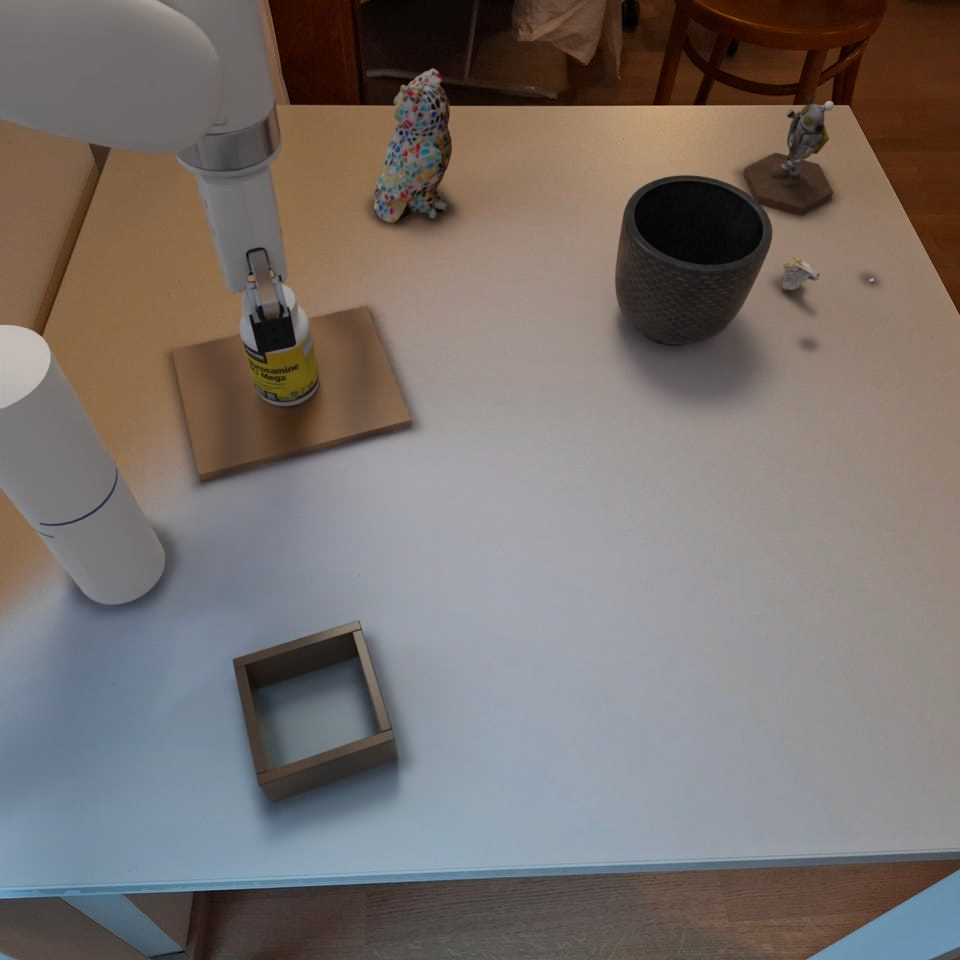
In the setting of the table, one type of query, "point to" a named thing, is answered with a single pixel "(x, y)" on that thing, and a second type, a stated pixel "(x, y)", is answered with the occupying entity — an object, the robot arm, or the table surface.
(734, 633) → the table surface
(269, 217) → the robot arm
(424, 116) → the figurine
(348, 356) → the board
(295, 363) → the pill bottle
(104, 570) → the cylindrical container
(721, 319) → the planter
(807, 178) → the robot figurine
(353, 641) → the holder
